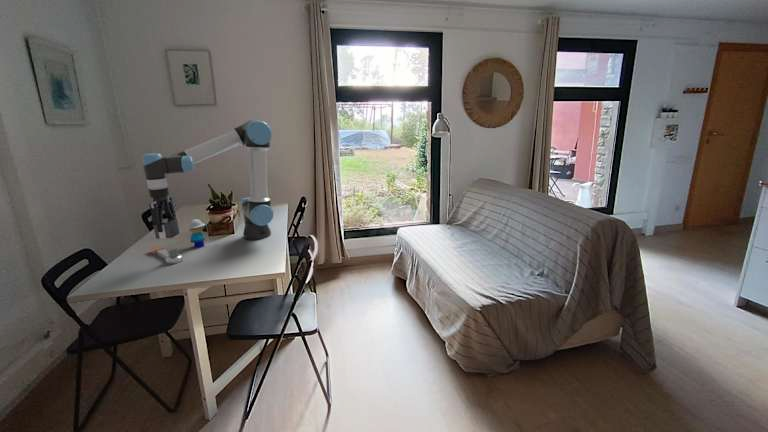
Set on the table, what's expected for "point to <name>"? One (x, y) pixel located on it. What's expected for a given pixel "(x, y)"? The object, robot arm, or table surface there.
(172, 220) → the dark charcoal cube
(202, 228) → the toy
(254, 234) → the robot arm
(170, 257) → the ratchet
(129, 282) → the table surface
